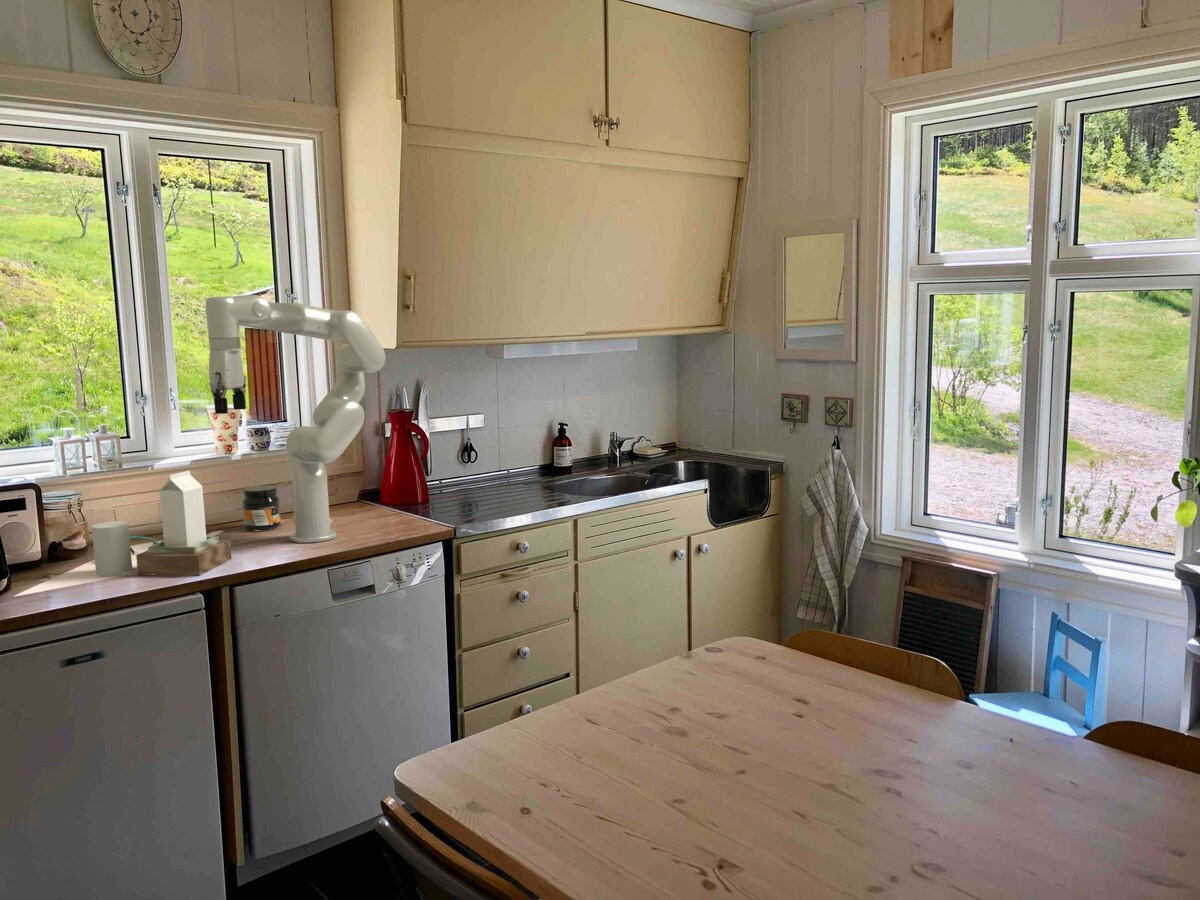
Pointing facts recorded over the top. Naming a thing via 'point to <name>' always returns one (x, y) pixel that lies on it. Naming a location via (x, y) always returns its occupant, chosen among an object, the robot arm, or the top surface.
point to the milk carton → (182, 511)
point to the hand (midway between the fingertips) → (231, 411)
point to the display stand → (184, 558)
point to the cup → (112, 548)
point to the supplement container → (261, 508)
